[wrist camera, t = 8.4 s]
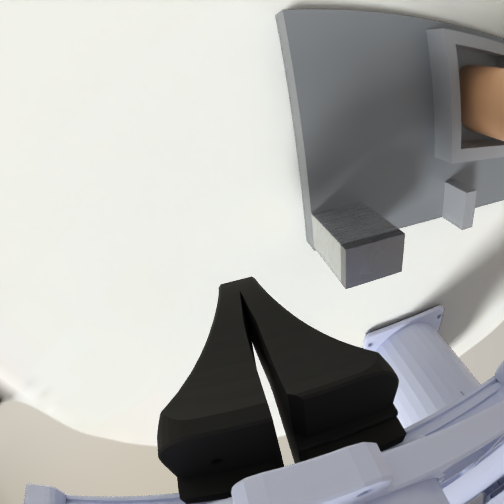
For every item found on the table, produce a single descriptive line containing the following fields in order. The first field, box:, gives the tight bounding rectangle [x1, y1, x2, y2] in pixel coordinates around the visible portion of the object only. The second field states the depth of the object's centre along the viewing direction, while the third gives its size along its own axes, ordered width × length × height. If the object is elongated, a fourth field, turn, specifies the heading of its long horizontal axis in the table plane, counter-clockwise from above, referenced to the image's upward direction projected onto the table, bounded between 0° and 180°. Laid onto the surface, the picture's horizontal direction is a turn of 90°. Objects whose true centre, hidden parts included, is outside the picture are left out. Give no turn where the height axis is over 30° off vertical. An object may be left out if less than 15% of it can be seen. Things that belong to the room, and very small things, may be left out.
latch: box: [311, 202, 405, 289], centre depth 15 cm, size 2×3×4 cm, turn 99°
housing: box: [275, 9, 504, 251], centre depth 15 cm, size 12×24×3 cm, turn 99°
